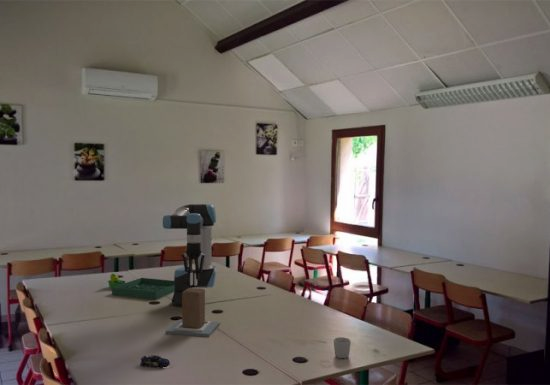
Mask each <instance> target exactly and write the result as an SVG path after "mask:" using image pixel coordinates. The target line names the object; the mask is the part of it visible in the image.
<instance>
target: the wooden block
mask: <svg viewBox="0 0 550 385" xmlns="http://www.w3.org/2000/svg"><path fill="white" fill-rule="evenodd" d="M181 307H182V308H181V313H182V314H181V316H182V317H181V320H182V327H183V328H192V329H199V328H200V327H202V326H203V325H204V323H205V321H206V320H205V319H206V318H205V317H206V290H205V288H188V289H186V290H185V291H183V293H182V306H181Z"/></svg>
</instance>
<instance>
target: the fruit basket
mask: <svg viewBox="0 0 550 385" xmlns="http://www.w3.org/2000/svg"><path fill="white" fill-rule="evenodd" d="M109 278H110V280H107V284H108V285H109V288H110V287H111V288H110V289H112V287H115V286H118V285H121V284H124V283H126V280H122V279H119V276H118V275H116V274H115V273H111V274H110V276H109Z"/></svg>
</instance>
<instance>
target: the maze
mask: <svg viewBox="0 0 550 385" xmlns="http://www.w3.org/2000/svg"><path fill="white" fill-rule="evenodd" d="M171 294H174V280H169V279H159V278H158V279H157V278H150V277H149V278H147V277H140V278H137V279H132V280H131V281H128V282H125V283H124V284H121V285H118V286H115V287H112V288H111V295H112V296H118V295H119V297H129V298H138V299H147V300H158V299H161V298H163V297H166V296H169V295H171Z"/></svg>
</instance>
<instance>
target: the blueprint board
mask: <svg viewBox="0 0 550 385" xmlns="http://www.w3.org/2000/svg"><path fill="white" fill-rule="evenodd" d="M220 326H221V322H220V321H210V320H205V323H204V325H203V326H202V327H200V328H199V329H192V328H183V327H182V319H178V320H177V321H175V322H174V323H173V324H172V325H171V326H170V327H168V328H167V329H166V330H165V334H167V335H178V336H179V335H181V336H183V335H184V336H196V337H211V335H212V334H213V333H214V332H215V331H216V330H217V329H218V328H219V327H220Z"/></svg>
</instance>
